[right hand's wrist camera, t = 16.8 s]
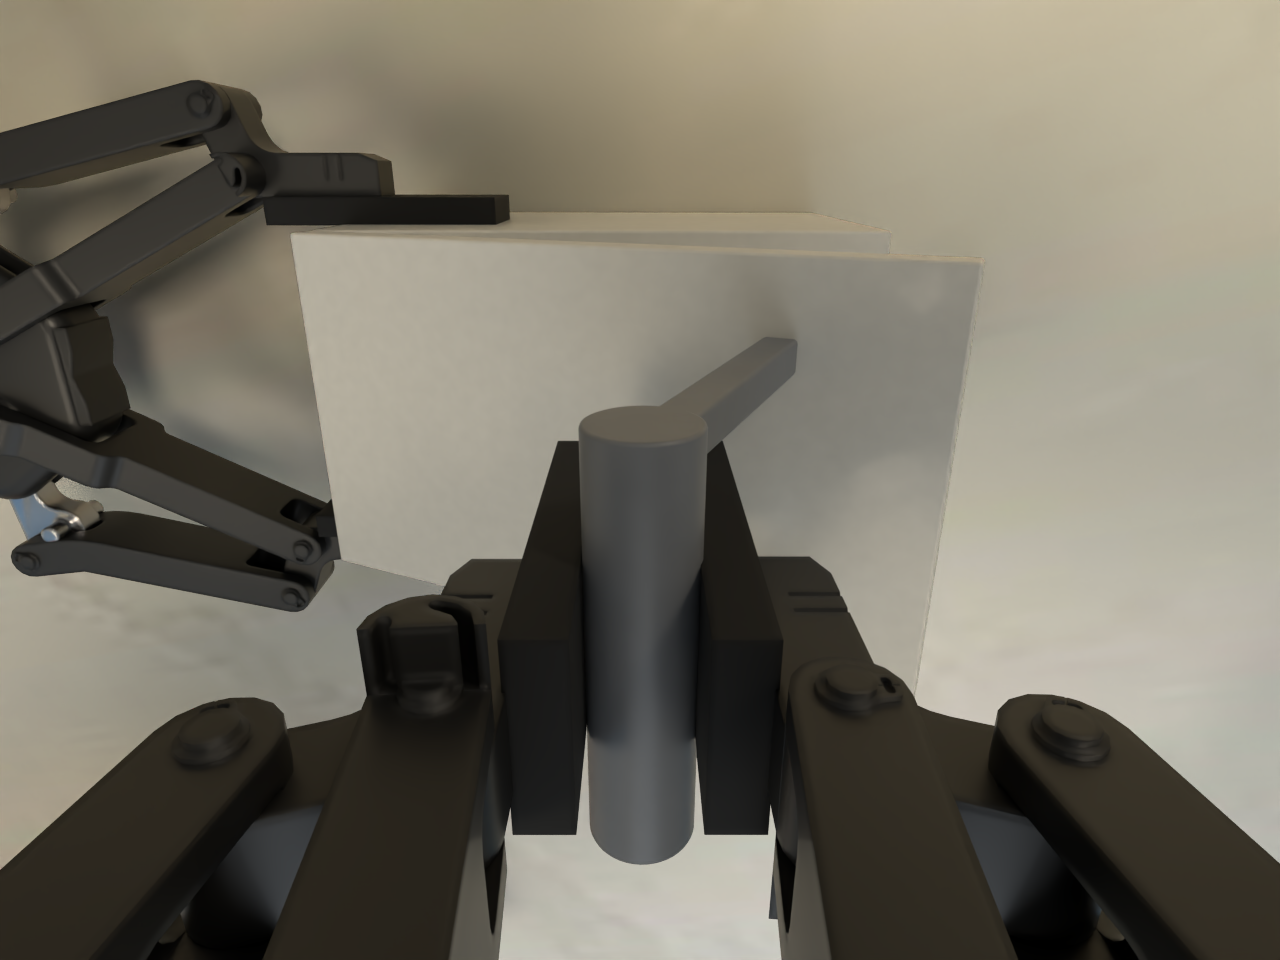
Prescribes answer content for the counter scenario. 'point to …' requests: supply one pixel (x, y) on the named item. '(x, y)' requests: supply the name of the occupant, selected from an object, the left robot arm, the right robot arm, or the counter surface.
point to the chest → (668, 230)
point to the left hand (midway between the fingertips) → (512, 370)
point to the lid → (642, 444)
